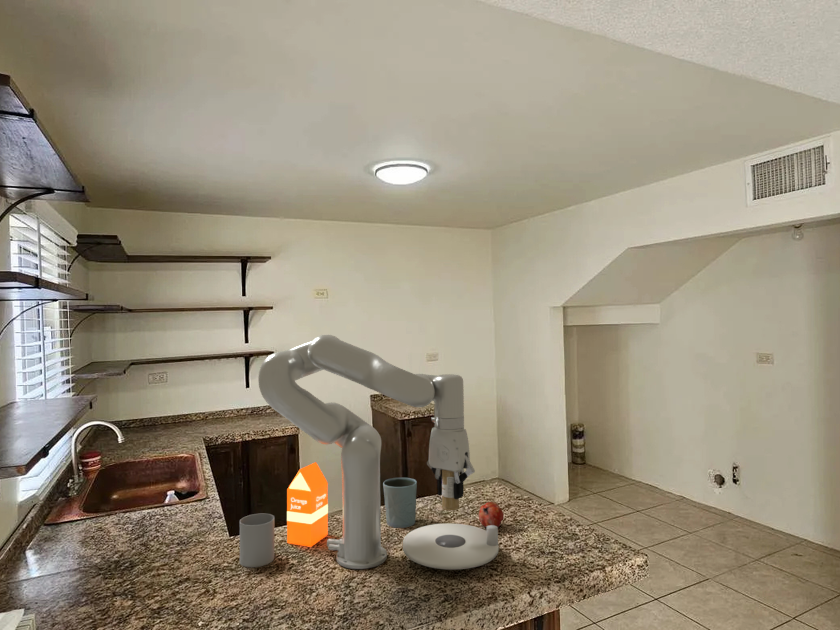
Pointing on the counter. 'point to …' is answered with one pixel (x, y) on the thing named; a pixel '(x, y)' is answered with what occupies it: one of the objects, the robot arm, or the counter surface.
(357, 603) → the counter surface
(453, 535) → the turntable
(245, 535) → the cup
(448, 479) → the sprinkles bottle
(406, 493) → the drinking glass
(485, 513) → the pomegranate
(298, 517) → the orange juice
